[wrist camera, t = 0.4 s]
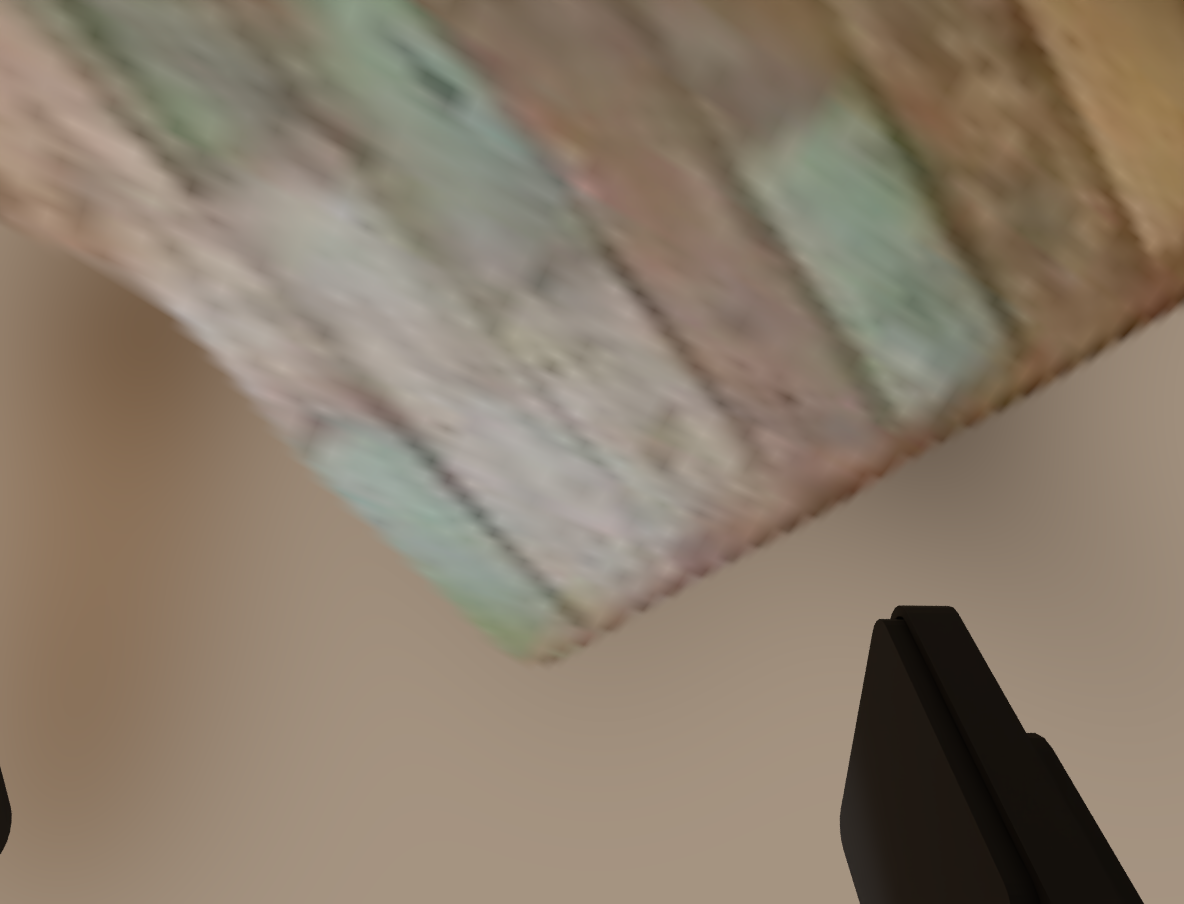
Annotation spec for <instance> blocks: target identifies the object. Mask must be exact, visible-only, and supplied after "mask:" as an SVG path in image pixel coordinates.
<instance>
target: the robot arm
mask: <svg viewBox="0 0 1184 904" xmlns="http://www.w3.org/2000/svg"><path fill="white" fill-rule="evenodd" d="M11 816H12V813H11V806H10V803H9V799H8V795H7V791H6V787H5V783H4V779H3V775H2V772H1V768H0V854H1V852H2V850H3V849H4V847H5V844H6V842H7V840H8V836H9V833H10V827H11ZM840 833H841V840H842V845H843V850H844V853H845V856H846V859H847V863H848V866H849V869H850V872H851V876H852V879H853V882H854V886H855V889H856V892H857V895H858V898H859V901H860V904H1144V903H1143V901H1142V900H1141V898H1140V896H1139V895H1138V893H1137V891H1136V889H1135V888H1134V886H1133V884H1132V883H1131V881H1130V879H1129V877H1128V876H1127V874H1126V872H1125V871H1124V869H1123V867H1122V866H1121V864H1120V862H1119V861H1118V859H1117V857H1116V855H1115V854H1114V852H1113V851H1112V849H1111V847H1110V845H1109V844H1108V842H1107V840H1106V838H1105V837H1104V835H1103V833H1102V832H1101V830H1100V828H1099V827H1098V825H1097V823H1096V821H1095V820H1094V818H1093V816H1092V815H1091V813H1090V811H1089V810H1088V808H1087V806H1086V804H1085V803H1084V801H1083V800H1082V798H1081V796H1080V794H1079V793H1078V791H1077V789H1076V788H1075V786H1074V784H1073V783H1072V781H1071V779H1070V778H1069V776H1068V774H1067V773H1066V771H1065V769H1064V767H1063V766H1062V764H1061V762H1060V760H1059V759H1058V757H1057V755H1056V754H1055V752H1054V750H1053V749H1052V747H1051V746H1050V745H1049V744H1048V742H1047V741H1046V740H1045V738H1043V737H1041V736H1040V735H1038V734H1036V733H1026V732H1025V730H1024V728H1023V727H1022V725H1021V723H1020V721H1019V719H1018V718H1017V716H1016V714H1015V712H1014V711H1013V709H1012V707H1011V705H1010V704H1009V702H1008V700H1007V698H1006V697H1005V695H1004V693H1003V691H1002V690H1001V688H1000V686H999V684H998V683H997V681H996V679H995V677H994V676H993V674H992V672H991V670H990V669H989V667H988V665H987V663H986V661H985V660H984V658H983V656H982V654H981V653H980V651H979V649H978V647H977V646H976V644H975V642H974V640H973V639H972V637H971V635H970V633H969V632H968V630H967V628H966V626H965V624H964V623H963V621H962V619H961V617H960V616H959V614H958V613H957V611H956V610H955V609H954V608H953V607H950V606H897V607H896V608H895V609H894V611H893V613H892V616H891V619H879V620H878V621H876V623H875V625H874V629H873V633H872V639H871V644H870V650H869V655H868V661H867V667H866V672H865V677H864V683H863V689H862V694H861V700H860V705H859V711H858V716H857V722H856V728H855V733H854V739H853V744H852V750H851V755H850V761H849V767H848V772H847V778H846V783H845V789H844V795H843V800H842V806H841V812H840Z"/></svg>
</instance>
